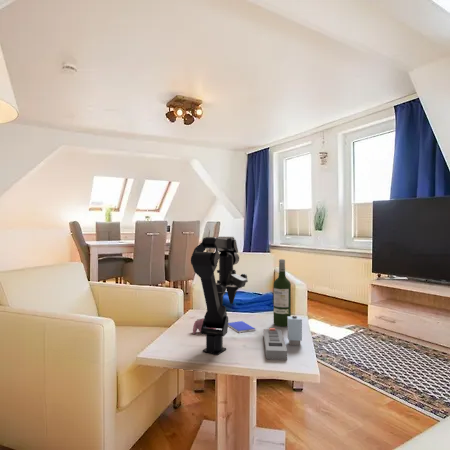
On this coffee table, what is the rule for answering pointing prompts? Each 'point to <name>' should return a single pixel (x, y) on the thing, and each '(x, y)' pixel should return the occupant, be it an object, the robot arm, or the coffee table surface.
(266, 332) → the power strip
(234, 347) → the coffee table surface
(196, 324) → the video game controller
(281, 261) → the wine bottle
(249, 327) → the hard drive
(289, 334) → the light blue rectangular block
